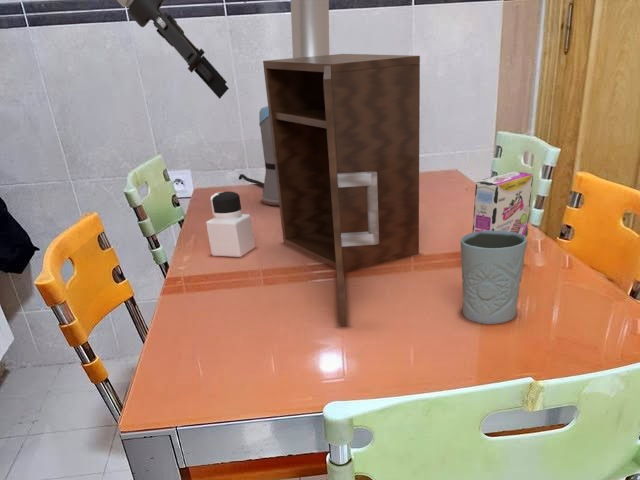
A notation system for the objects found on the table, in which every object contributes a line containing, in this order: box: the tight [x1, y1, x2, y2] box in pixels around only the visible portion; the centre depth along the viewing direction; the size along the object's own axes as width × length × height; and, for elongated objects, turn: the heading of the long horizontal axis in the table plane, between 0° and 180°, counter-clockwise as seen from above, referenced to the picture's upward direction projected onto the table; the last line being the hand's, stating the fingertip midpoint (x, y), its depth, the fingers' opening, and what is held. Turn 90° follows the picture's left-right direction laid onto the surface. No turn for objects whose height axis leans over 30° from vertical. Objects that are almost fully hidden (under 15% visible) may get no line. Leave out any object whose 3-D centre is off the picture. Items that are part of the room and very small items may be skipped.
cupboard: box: [262, 53, 421, 273], centre depth 129 cm, size 18×26×34 cm
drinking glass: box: [460, 231, 528, 325], centre depth 103 cm, size 10×10×12 cm
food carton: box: [472, 171, 534, 238], centre depth 118 cm, size 11×5×16 cm, turn 135°
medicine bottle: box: [205, 190, 256, 258], centre depth 138 cm, size 7×7×12 cm
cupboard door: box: [323, 66, 379, 327], centre depth 105 cm, size 7×26×34 cm, turn 2°
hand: (223, 90), depth 135 cm, fingers open, 13 cm apart
